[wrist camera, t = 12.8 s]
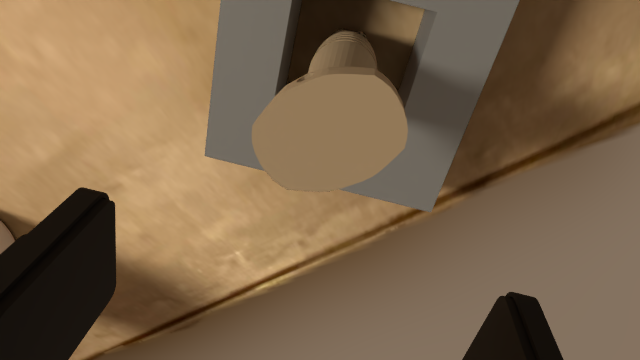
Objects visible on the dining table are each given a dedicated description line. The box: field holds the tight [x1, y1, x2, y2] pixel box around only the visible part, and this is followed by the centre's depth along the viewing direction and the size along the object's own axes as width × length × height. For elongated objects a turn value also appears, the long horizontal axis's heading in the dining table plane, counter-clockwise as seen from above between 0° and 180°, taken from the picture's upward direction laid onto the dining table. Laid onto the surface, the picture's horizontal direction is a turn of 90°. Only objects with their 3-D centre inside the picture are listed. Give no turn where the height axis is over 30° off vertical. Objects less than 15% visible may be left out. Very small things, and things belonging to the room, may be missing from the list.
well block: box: [205, 0, 520, 212], centre depth 29 cm, size 16×16×5 cm
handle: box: [252, 29, 408, 192], centre depth 25 cm, size 5×6×15 cm
